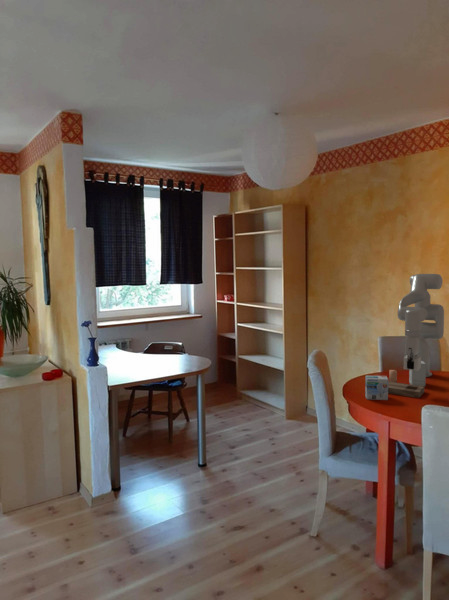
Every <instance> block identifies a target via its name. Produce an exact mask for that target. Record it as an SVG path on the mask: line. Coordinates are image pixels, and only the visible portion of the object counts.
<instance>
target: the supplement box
mask: <svg viewBox="0 0 449 600" xmlns="http://www.w3.org/2000/svg"><path fill="white" fill-rule="evenodd" d="M408 374H409V375H408V377H409V378H408V382H409V383H408V384H410V385H418V386H425V387H426V378H427V377H426V363H424V362H423V361H421V368H420V369H419V370H418V371H415V370H409V372H408Z"/></svg>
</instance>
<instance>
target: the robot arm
mask: <svg viewBox="0 0 449 600" xmlns="http://www.w3.org/2000/svg"><path fill="white" fill-rule="evenodd" d="M409 284H410V290H409V293H407V294H406V295H404V296H403V297H402V298H401V299H400V301H399V304H398V307H397V318H398V319H399V320H400V321H403V322H404V336H405V337H406V338H405V342H404V343H405V346H404V356H406V355H407V369H414V361H413V359H414V356H421V361H423V362H424V363H426V378H429V377H432V376H433V373H432V372H431V371H430V362H431V361H430V358H431V357H430V353H431V346H430V343H429V342H428V340H441V339H443V337H444V333H445V331H444V330H445V310H444V306H443V305H441V304H437V303H434V304H433V303H431V294H430V292H429V291H428V290H440V289H441V288H442V286H443V277H442V275H441V274H438V273H417V274H412V275H411V276H410V277H409ZM411 305H414V306H411ZM426 321H427V322H426ZM428 321H434V322H428ZM427 339H428V340H427ZM411 357H412V358H411ZM407 369H406V370H407Z"/></svg>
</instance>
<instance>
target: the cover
mask: <svg viewBox="0 0 449 600" xmlns="http://www.w3.org/2000/svg"><path fill="white" fill-rule="evenodd" d="M411 358H412V357H411ZM413 361H414V369H407V355H404V357H403V370H407V371H408V370H415V371H418V370H419V369H420V368H421V356H414V359H413Z"/></svg>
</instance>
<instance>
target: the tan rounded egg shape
mask: <svg viewBox="0 0 449 600" xmlns="http://www.w3.org/2000/svg"><path fill="white" fill-rule="evenodd" d="M388 371H389V373H388V375H389V376H388V381H389V382H396V383H398V378H397V377H398V371H397V370H396V369H389V370H388Z"/></svg>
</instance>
